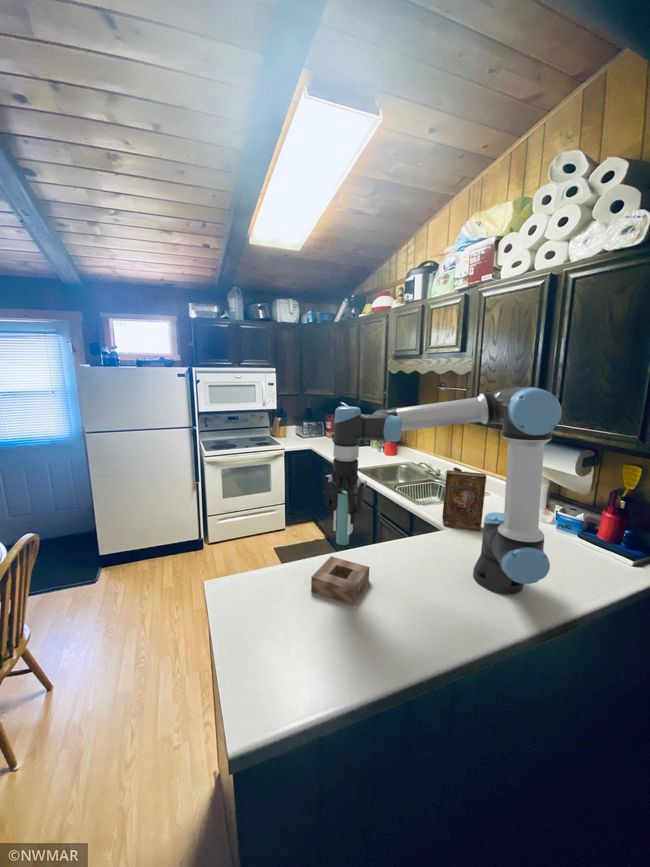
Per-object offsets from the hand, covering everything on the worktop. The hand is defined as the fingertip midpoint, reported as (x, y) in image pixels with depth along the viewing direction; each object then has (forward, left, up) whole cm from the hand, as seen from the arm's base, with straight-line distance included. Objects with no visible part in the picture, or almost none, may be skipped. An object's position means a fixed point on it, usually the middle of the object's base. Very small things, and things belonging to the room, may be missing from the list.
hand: (342, 530), depth 107 cm
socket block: (0, 0, -19) cm, 19 cm away
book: (-30, -67, -19) cm, 76 cm away
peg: (0, 0, -4) cm, 4 cm away
